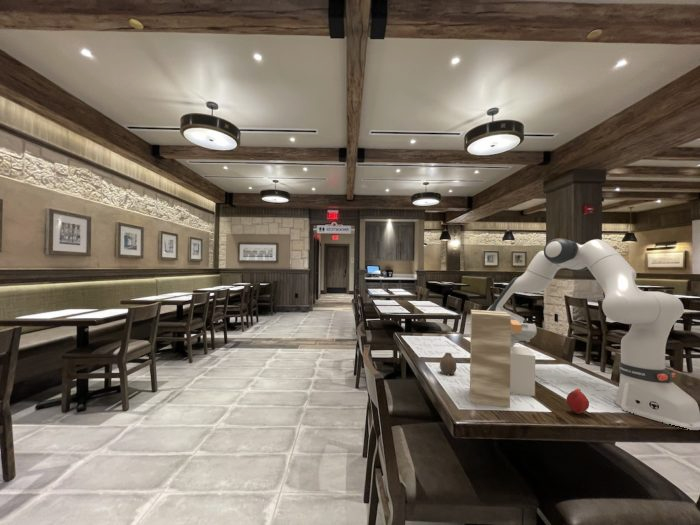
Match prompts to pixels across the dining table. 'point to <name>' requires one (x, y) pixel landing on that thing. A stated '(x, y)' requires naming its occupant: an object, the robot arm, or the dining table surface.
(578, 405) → the onion
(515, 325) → the orange bar
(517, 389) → the white box
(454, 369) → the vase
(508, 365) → the tall stand
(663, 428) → the dining table surface
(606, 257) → the robot arm
